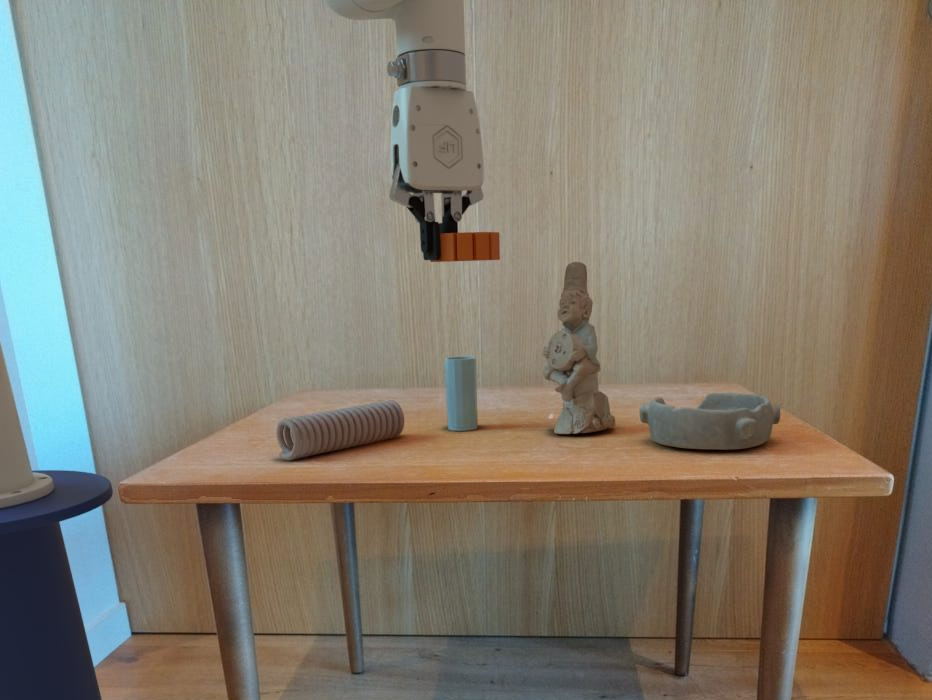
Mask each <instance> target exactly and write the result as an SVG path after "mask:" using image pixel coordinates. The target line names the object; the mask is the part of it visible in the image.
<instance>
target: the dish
mask: <svg viewBox="0 0 932 700" xmlns="http://www.w3.org/2000/svg"><path fill="white" fill-rule="evenodd" d="M639 419H640V422H641V423H642V424H647V425H648V429H649V436H650V439H651V440H652V441H653V442H655V443H658V444H660V445H663V446H668V447H673V448H674V447H675V448H679V449H680V448H681V449H690V450H691V449H692V450H719V451H721V450H724V451H726V450H727V451H728V450H743V449H749V448H753V447H757V446H760V445H762V444H764V443H766V442H768V441H769V440H770V438H771V435H772V431H773V426H774V425H778V424H779V423H780V421H781V407H780V405H779V404H778V403H774V404H772V402H771V400H770V398H769V397H767V396H765V395H762V394H754V393H743V392H741V393H740V392H738V393H737V392H710V393H708V394H707V395H706V396H705V398H704V399H703V400H702V401H701V403H699V405H698V406H697V407H696V408H695V407H685V406H684V407H679V408H676V407H675V406H674V405H669V404H666V402H665V400H664V398H663V397H660V396H659V397H654V398H653V399H651V400H650V402H649V403H642V404H640V406H639Z"/></svg>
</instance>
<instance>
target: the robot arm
mask: <svg viewBox="0 0 932 700" xmlns="http://www.w3.org/2000/svg"><path fill="white" fill-rule="evenodd" d="M322 1H323V2H324V4H325V5H326V6H327V7H328V8H329V9H330V10H331V11H333V12H334V13H335V14H337V15H338V16H340V17H342V18H345V19H349V20H353V21H366V20H367V21H369V20H387V19H388V20H389V19H390V20H393V21H394V26H395V27H394V28H395V42H396V43H395V46H396V58H395V61H391V60H390V61H388V63H387V66H386V71H387V75H388V76H389V77H393V78H395V79H396V86H398V89H397V90H395V91H394V93H393V101H392V110H391V122H390V166H391V167H390V169H391V172H390V173H391V180H392V183H391V187H390V189H389V199H390V200H391V201H393V202H394V203H396V204H399V205H401V206H404V207H405V208H407V210H408V211H409V212H410V213H411V215H413V217H414V220H415V221H416V223H417V224H419V238H420V239H419V240H420V251H421V252H422V257H423V260H424V261H430V260H439V259H440V258H441V247H440V234H442V233H459V222H461V221H462V220H463V219H462V218H463V215H464V214H465V213H466V211H467V210H468V208H469V207H470V206H473V205H475V204H477V203H479V202H482V200H483V199H484V192H483V190H482V186H483V185H484V180H485V171H484V169H485V168H484V153H483V144H482V133H481V125H480V118H479V113H478V107H477V103H476V99H475V94H474V91H473V90H468V89H467V65H466V64H467V63H466V35H465V30H466V29H465V1H464V0H322ZM464 191H465V192H466V193H464V194H463V192H464ZM411 193H412V194H411ZM434 194H441V222H439V221H436V213H435V211H436V210H435V197H434ZM7 367H8V366H7V363H6V359H5V355H4V351H3V348H2V343H1V342H0V509H2V508H8V507H12V506H16V505H21V504H24V503H28V502H31V501H34V500H37V499H40V498H42V497H44V496H46V495H48V494H50V493H51V492H52V491H53V489H54V485H53V480H52V478H51V477H50V476H48V475H46V474H42V473H35V472H32V471H33V469H32V465H31V461H30V457H29V452H28V448H27V445H26V440H25V437H24V433H23V428H22V425H21V421H20V417H19V413H18V409H17V404H16V399H15V396H14V392H13V387H12V384H11V379H10V377H9V376H10V375H9V371H8V368H7Z"/></svg>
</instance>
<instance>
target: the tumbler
mask: <svg viewBox="0 0 932 700" xmlns="http://www.w3.org/2000/svg"><path fill="white" fill-rule="evenodd" d="M444 377H445V378H444V379H445V399H446V423H447V430H449V431H454V432H467V431H473V430H477V429H478V424H479V423H478V422H479V421H478V419H479V418H478V388H477V385H478V384H477V358H476V357H475V356H463V355H462V356H449V357H445V358H444Z"/></svg>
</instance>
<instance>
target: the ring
mask: <svg viewBox="0 0 932 700" xmlns="http://www.w3.org/2000/svg"><path fill="white" fill-rule="evenodd" d="M500 244H501V243H500V232H498V231H474V232H472V231H470V232H469V231H466V232H458V233H442V234H440V247H441V258H440V259H439V260H429V262H430V263H448V262H475V261H477V262H479V261H500V260H501V250H500V249H501V247H500V246H501V245H500Z"/></svg>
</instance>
